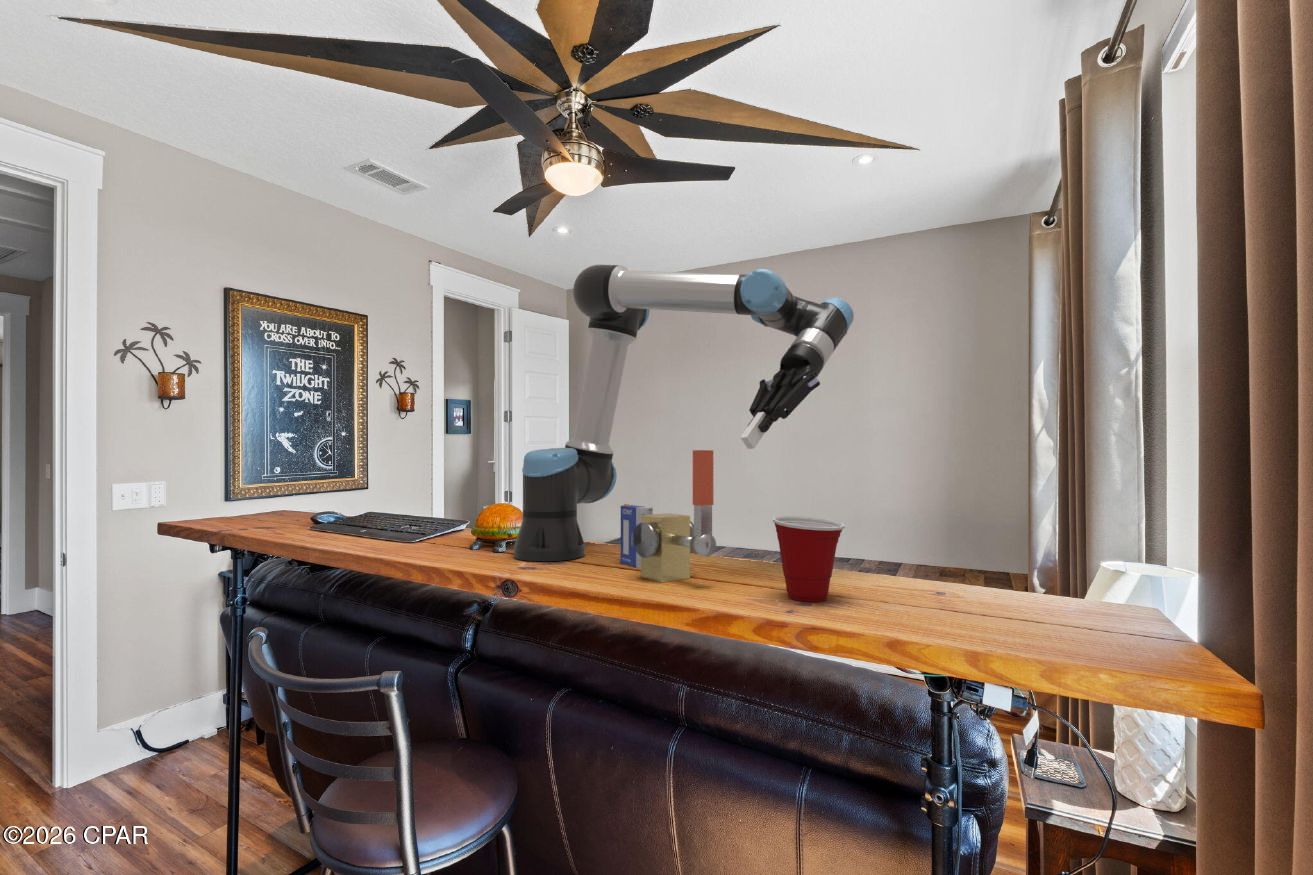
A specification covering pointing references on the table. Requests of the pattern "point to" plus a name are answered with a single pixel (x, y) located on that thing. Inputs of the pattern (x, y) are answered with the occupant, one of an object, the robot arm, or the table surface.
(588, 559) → the table surface
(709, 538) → the valve lever
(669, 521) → the valve pipe
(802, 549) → the plastic cup
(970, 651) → the table surface
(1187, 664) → the table surface
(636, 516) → the walkman
